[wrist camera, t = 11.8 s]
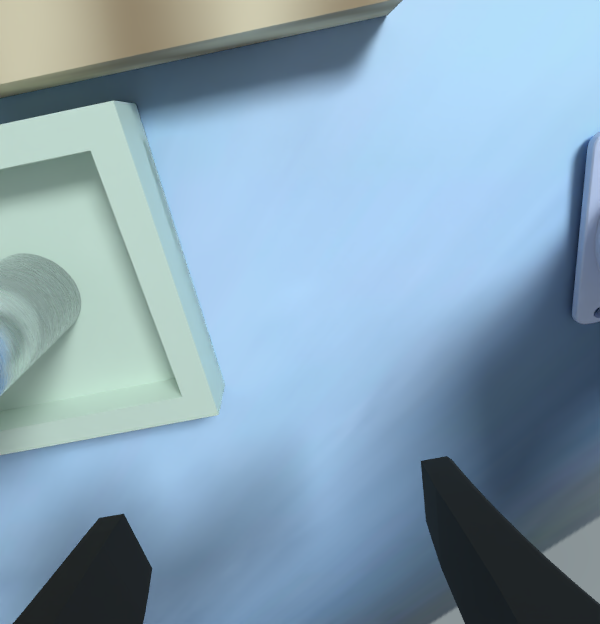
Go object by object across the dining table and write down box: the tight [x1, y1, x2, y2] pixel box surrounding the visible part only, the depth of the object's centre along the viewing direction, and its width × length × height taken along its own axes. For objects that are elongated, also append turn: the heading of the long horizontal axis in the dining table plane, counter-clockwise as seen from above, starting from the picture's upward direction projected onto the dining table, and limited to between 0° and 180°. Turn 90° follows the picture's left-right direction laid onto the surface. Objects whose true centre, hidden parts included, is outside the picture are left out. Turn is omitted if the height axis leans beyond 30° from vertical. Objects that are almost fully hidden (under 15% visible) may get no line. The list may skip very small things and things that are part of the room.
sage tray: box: [0, 101, 225, 455], centre depth 16 cm, size 12×12×2 cm
